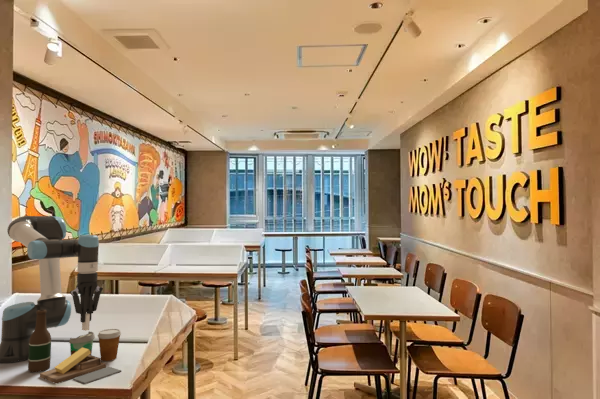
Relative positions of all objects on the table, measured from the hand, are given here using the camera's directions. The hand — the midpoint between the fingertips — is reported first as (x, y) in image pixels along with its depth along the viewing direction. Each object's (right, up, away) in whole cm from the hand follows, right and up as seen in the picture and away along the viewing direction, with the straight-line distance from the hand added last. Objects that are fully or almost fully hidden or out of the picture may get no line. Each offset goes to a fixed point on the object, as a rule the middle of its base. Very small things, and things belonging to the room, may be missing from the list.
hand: (85, 329), depth 166 cm
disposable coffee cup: (+4, -17, +12) cm, 21 cm away
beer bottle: (-18, -16, -2) cm, 24 cm away
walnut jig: (-2, -16, -4) cm, 17 cm away
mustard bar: (-3, -14, -5) cm, 15 cm away
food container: (-7, -17, +13) cm, 22 cm away
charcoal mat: (+9, -16, -8) cm, 20 cm away
